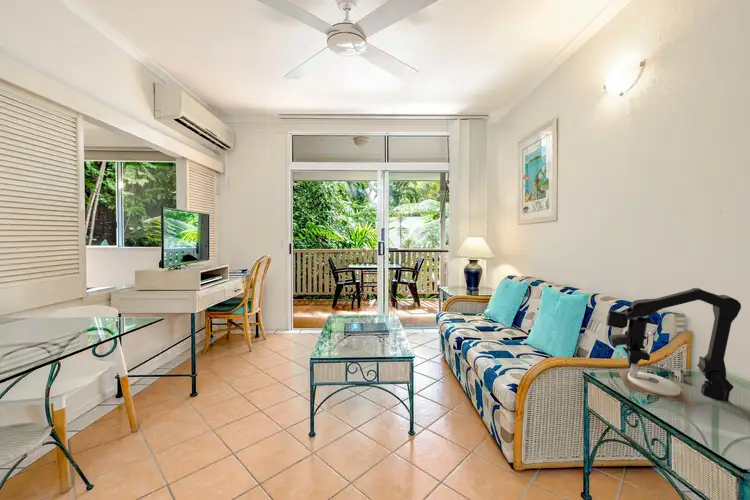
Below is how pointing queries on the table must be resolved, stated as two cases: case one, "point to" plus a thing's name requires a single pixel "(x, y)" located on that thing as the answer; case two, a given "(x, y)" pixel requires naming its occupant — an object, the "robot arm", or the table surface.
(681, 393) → the dial base
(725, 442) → the table surface
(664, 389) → the dial
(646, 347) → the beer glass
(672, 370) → the caliper
